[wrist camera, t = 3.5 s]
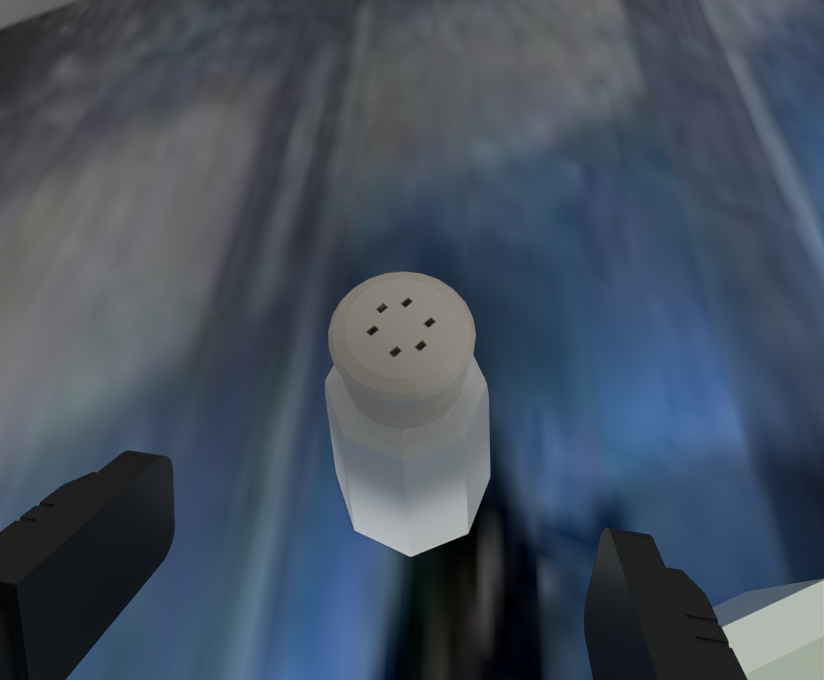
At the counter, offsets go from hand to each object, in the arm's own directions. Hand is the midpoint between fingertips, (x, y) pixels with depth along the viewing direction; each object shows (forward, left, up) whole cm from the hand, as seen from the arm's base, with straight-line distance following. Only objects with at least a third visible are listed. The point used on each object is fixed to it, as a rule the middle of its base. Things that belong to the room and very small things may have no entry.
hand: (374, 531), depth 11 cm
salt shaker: (-2, +3, -10) cm, 10 cm away
